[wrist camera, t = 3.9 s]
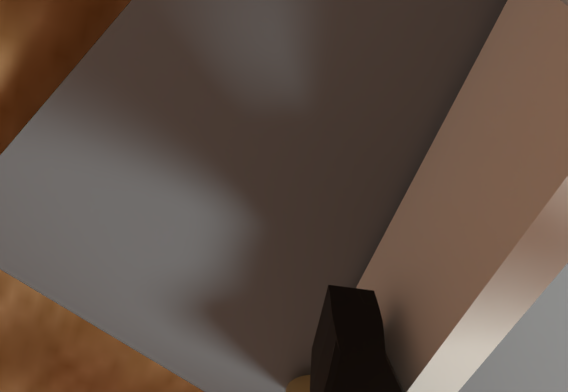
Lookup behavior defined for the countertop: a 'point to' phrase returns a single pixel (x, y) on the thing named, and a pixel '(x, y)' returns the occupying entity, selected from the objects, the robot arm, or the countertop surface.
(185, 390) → the countertop surface
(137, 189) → the gate board
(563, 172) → the gate
